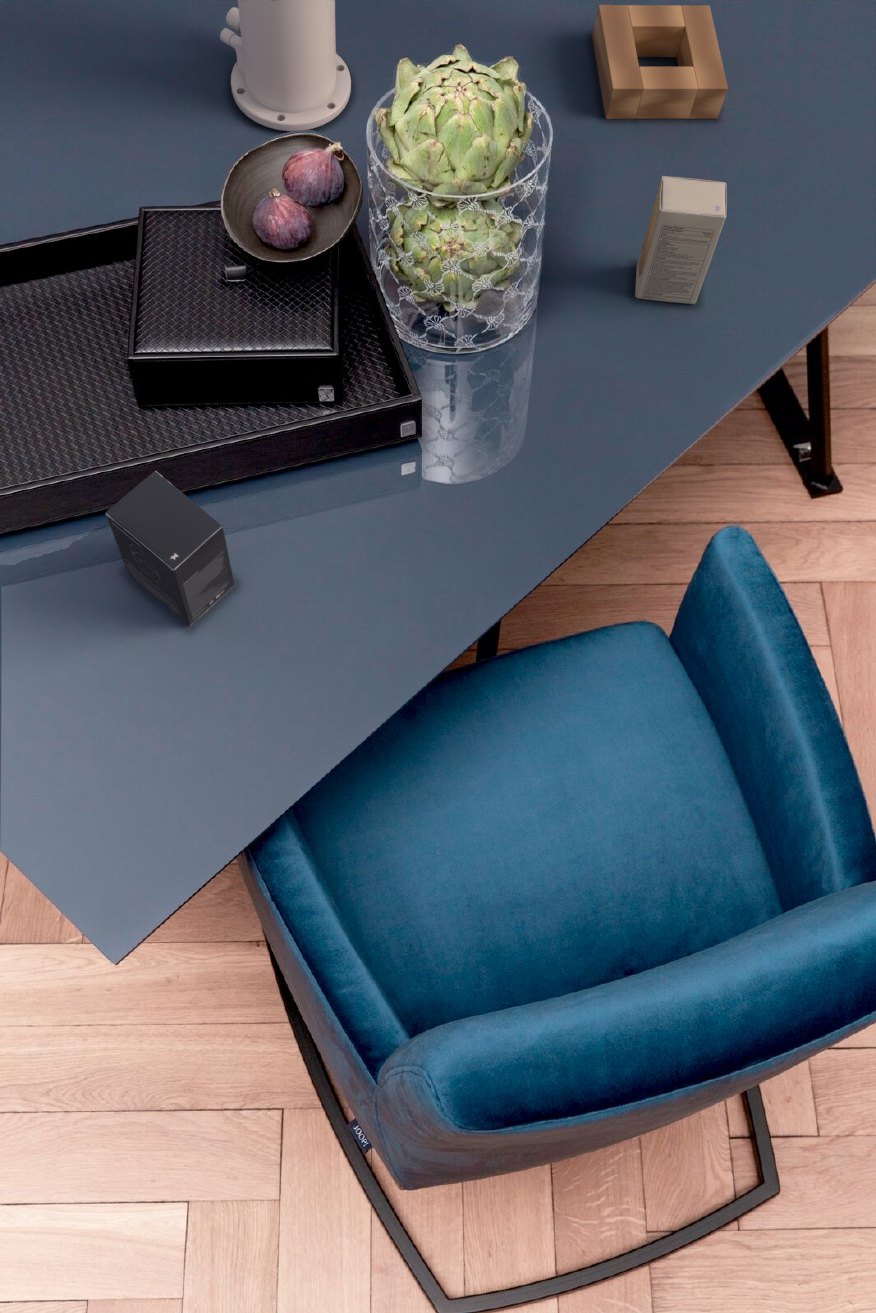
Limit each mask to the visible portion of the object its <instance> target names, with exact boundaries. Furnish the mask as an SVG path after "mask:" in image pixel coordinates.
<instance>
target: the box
mask: <svg viewBox="0 0 876 1313" xmlns="http://www.w3.org/2000/svg"><path fill="white" fill-rule="evenodd" d="M105 516H106V519H107V521H108V525H109V527H110V529H111V532H112V534H113V537H114V539H115V542H116V545H117V547H118V550H119V553H120V555H121V558H122V560H123V564H124V566H125V569H126V572H127V573H128V575H129V576H130V577H132V579H133V580H135V581H136V582H137V583H138V584H139V585H140V586H142V587H143V589H145V590H146V591H147V592H149V593H150V595H152V596H153V597H154V598H156V599H157V600H158V601H159V602H160V603H161V604H163V605H164V606H165V607H166V608H167V609H169V611H170V612H172V613H173V614H174V615H176V617H178V618H179V619H180V620H181V621H182V622H184V624H186V625H187V626H189V627H191V626H192V625H193V624H194V623H195V622H196V621H198V620H199V619H200V618H201V617H203V615H204V614H206V613H207V612H208V611H209V610H210V609H211V608H212V607H213V606H215V605H216V604H217V602H218V601H220V600H221V599H222V598H223V597H224V596H226V594H227V593H228V592H230V591H231V590H233V588H234V587H235V580H234V576H233V575H234V574H233V570H232V564H231V560H230V554H229V551H228V546H227V540H226V536H225V531H224V525H223V524H221V523H220V522H219V521H217V520H216V519H215V518H214V517H213V516H211V515H210V514H209V513H207V511H205V510H204V509H202V508H201V506H199V505H198V504H197V503H196V502H194V501H193V500H192V499H191V498H189V497H188V496H187V495H186V494H185V493H183V492H182V491H181V490H180V489H178V488H177V487H176V486H175V485H173V483H172V482H170V481H169V480H168V479H166V478H165V477H164V476H163V475H162V474H161V473H160V472H158V471H157V470H154V471H153V472H151V474H150V475H148V476H147V477H146V478H144V479H143V480H142V481H141V482H140V483H139V484H138V485H136V486H135V487H134V488H133V489H132V490H130V491H129V492H128V493H127V494H126V495H125V496H123V497H122V498H121V499H120V500H119V501H118V502H116V503H115V504H114V505H112V506H111V507H110V508H108V510H106V512H105Z"/></svg>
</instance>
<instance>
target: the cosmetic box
mask: <svg viewBox="0 0 876 1313" xmlns="http://www.w3.org/2000/svg"><path fill="white" fill-rule="evenodd" d="M727 205H728V191H727V182H724V181H718V180H711V179H710V180H709V179H702V178H690V177H681V176H666V175H662V176H661V178H660V182H659V186H658V189H657V194H656V197H655V201H654V204H653V207H652V211H651V214H650V218H649V222H648V225H647V229H646V232H645V236H644V240H643V243H642V247H641V251H640V254H639V256H638V257H639V258H638V261H637V265H636V274H635V275H636V277H635V290H634V291H635V292H634V293H635V294H634V296H635V298H636V299H639V300H640V299H641V300H649V301H657V302H667V303H678V304H689V305H695V304H696V303H697V300H698V298H699V295H700V292H701V290H702V286H703V284H704V282H705V277H706V275H707V272H708V270H709V267H710V264H711V261H712V259H713V255H714V253H715V249H716V247H717V244H718V241H719V238H720V235H721V233H722V230H723V227H724V223H725V222H726V219H727V208H728V206H727Z"/></svg>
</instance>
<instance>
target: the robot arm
mask: <svg viewBox="0 0 876 1313" xmlns="http://www.w3.org/2000/svg"><path fill="white" fill-rule="evenodd" d="M237 6H238V7H235V6H234V7H231V8H230V9H229V10H228V11H227V14H226V16H225V22H226V25H228V26H229V27H230V28H232V29H234V31H236V32H238V33H240V36H239V35H238V34H237V33H235V32H234V31H233V30H231V29H229V28H227V27H224V28H223V29H222V30H221V31H220V34H219V39H220V41H221V42H222V43H225V45H227V46H229V47H232V48H233V49H234V50H235V53H236V62H235V63H234V65H233V67H232V71H231V74H230V87H231V94H232V97H233V99H234V102H235V104H236V105H237V107H238V108H239V110H240V111H241V112H242V113H243V114H244V115H245V116H246V117H248V118H249V119H251V120H252V121H253V122H255V123H256V124H259V125H262V126H264V127H266V128H270V129H273V130H278V131H283V132H284V131H285V132H301V131H302V132H303V131H308V130H312V129H315V128H319V127H322V126H324V125H325V124H327V123H330V122H331V121H332V120H334V119H335V118H337V117H338V116H339V115H340V114H341V113H342V112H343V110H344V109H345V108H346V106H347V104H348V102H349V100H350V97H351V93H352V79H351V74H350V70H349V68H348V65H347V63H346V62H345V61H344V60H343V58H342V57H341V56H340V55H339V54H338V53H337V50H336V49H337V48H336V46H337V44H336V42H337V41H336V0H237Z"/></svg>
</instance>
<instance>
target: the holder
mask: <svg viewBox="0 0 876 1313" xmlns="http://www.w3.org/2000/svg"><path fill="white" fill-rule="evenodd" d="M711 10H712V9H711V5H709V4H708V5H707V4H705V5H703V4H701V5H698V4H694V5H693V4H692V5H691V4H685V5H683V4H682V5H676V4H675V5H673V4H671V5H669V4H667V5H666V4H662V5H661V4H657V5H654V4H599V5H598V7H597V12H596V17H595V21H594V26H593V30H592V43H593V48H594V49H593V50H594V55H595V61H596V67H597V74H598V79H599V85H600V90H601V98H602V103H603V104H602V105H603V109H604V114H605V115H604V116H605V119H606V120H635V119H636V120H657V119H658V120H674V119H676V120H677V119H678V120H683V119H684V120H686V119H687V120H689V119H690V120H696V119H697V120H702V119H703V120H714V119H715V120H716V119H717V120H718V119H719V116H720V113H721V110H722V107H723V104H724V101H725V99H726V95H727V92H728V90H729V86H728V82H727V78H726V74H725V69H724V64H723V60H722V56H721V50H720V47H719V46H720V45H719V41H718V38H717V32H716V28H715V24H714V19H713V15H712V11H711ZM638 58H676V61H677V66H640V65H639V64H640V63H639V60H638Z"/></svg>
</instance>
